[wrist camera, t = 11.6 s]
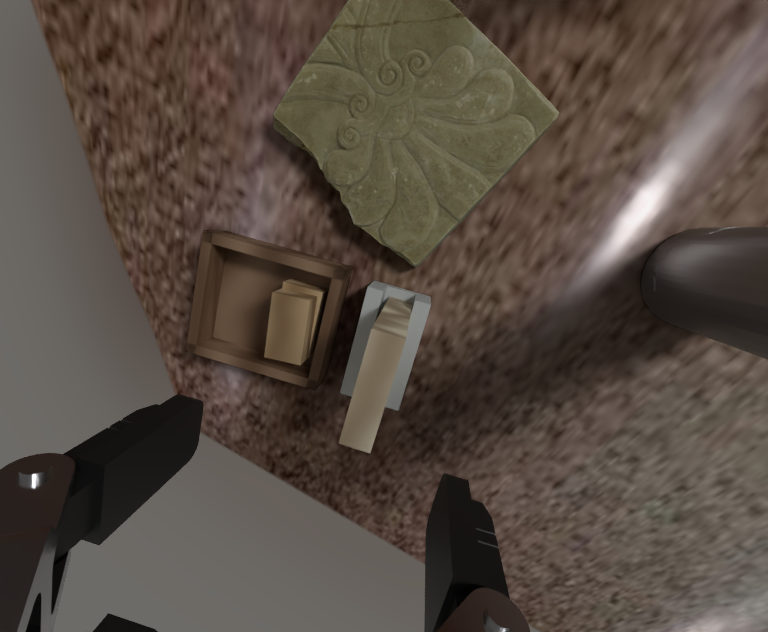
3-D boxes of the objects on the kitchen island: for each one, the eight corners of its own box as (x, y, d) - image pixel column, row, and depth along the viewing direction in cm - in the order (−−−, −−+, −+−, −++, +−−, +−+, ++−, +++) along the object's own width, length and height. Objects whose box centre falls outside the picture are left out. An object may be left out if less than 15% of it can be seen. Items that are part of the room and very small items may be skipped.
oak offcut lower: (328, 289, 37) (322, 292, 35) (314, 351, 39) (307, 358, 37) (291, 278, 38) (283, 281, 35) (278, 341, 39) (270, 347, 37)
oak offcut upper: (317, 296, 35) (310, 300, 33) (307, 357, 37) (300, 365, 35) (281, 288, 36) (272, 292, 33) (273, 349, 37) (264, 357, 35)
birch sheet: (412, 303, 37) (406, 339, 24) (388, 382, 39) (370, 453, 26) (389, 296, 37) (371, 328, 24) (366, 375, 39) (338, 443, 26)
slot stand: (430, 296, 37) (431, 304, 33) (401, 391, 40) (398, 410, 36) (374, 280, 38) (367, 286, 33) (349, 376, 40) (339, 393, 36)
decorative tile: (390, -38, 32) (386, -71, 29) (553, 123, 33) (568, 110, 30) (265, 138, 36) (248, 127, 33) (413, 274, 38) (412, 278, 34)
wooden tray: (352, 267, 38) (344, 270, 34) (326, 375, 41) (315, 390, 37) (225, 230, 38) (202, 230, 34) (208, 340, 41) (185, 351, 37)
